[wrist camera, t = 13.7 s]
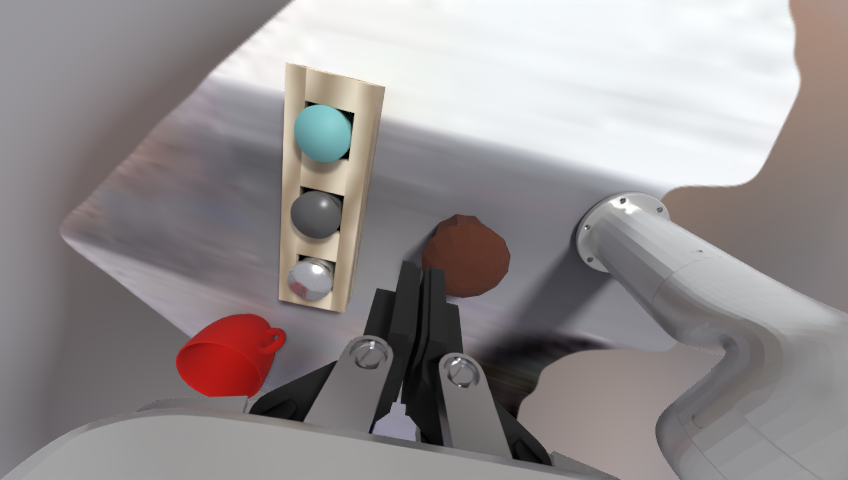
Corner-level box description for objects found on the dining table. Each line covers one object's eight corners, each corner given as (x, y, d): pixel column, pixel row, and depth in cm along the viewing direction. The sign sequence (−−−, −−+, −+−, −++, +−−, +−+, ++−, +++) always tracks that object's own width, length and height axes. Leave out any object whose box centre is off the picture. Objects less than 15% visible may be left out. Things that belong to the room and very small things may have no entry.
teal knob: (364, 109, 38) (352, 112, 33) (357, 156, 41) (345, 168, 35) (315, 97, 38) (295, 98, 32) (312, 146, 40) (292, 155, 35)
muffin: (430, 277, 50) (429, 318, 41) (415, 214, 45) (410, 245, 36) (504, 265, 49) (520, 305, 40) (496, 199, 44) (512, 228, 35)
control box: (385, 87, 38) (378, 87, 33) (352, 293, 52) (344, 313, 48) (301, 65, 37) (282, 62, 33) (290, 280, 51) (276, 299, 47)
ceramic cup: (321, 335, 56) (299, 382, 47) (248, 361, 60) (215, 409, 51) (278, 281, 51) (245, 322, 42) (201, 313, 55) (156, 357, 46)
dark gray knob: (353, 185, 43) (341, 200, 37) (348, 224, 45) (336, 243, 40) (310, 175, 42) (291, 188, 37) (307, 215, 45) (289, 233, 39)
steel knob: (345, 247, 47) (333, 269, 42) (340, 279, 50) (328, 303, 44) (305, 239, 47) (288, 259, 41) (303, 271, 49) (286, 295, 44)
